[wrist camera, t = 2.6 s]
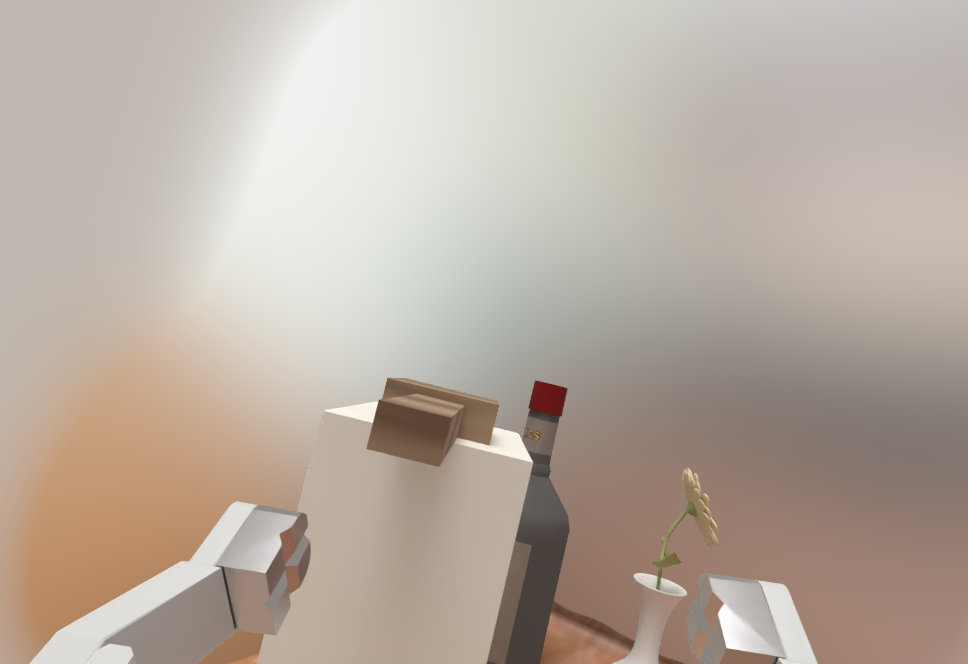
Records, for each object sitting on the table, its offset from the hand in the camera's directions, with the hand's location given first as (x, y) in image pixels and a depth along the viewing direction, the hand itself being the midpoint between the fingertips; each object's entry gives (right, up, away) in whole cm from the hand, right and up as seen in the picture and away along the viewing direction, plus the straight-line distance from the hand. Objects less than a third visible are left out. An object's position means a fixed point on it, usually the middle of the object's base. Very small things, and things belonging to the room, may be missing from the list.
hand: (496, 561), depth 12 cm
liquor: (0, -30, +48) cm, 57 cm away
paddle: (-3, -1, +21) cm, 21 cm away
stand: (-9, -26, +27) cm, 39 cm away
